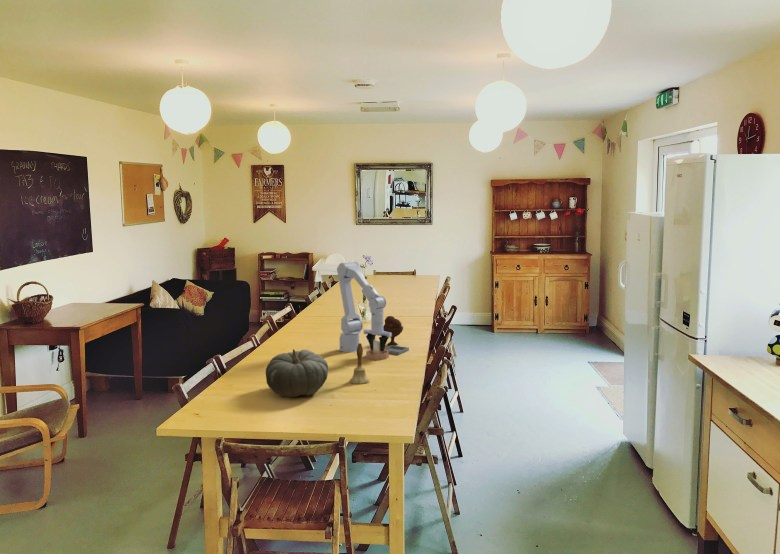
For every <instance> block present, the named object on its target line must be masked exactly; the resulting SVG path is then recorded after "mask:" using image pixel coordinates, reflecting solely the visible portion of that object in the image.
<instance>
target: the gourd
mask: <svg viewBox="0 0 780 554" xmlns="http://www.w3.org/2000/svg"><path fill="white" fill-rule="evenodd" d="M328 373H329V364H328V362H327V360H325V359H324V357H323V356H321V355H320V354H318V353H315V352H313V351H311V350H308V349H302V350H295V349H292V352H283V353H279V354H277V355H275V356H274V357H272V358H271V360H270V361H269V363H268V364H267V366H266V368H265V377H266V378H265V381H266V384H267V386H268V387H269V389H270V390H271V391H273V392H274V393H275V394H276V395H279V396H281V397H287V398H288V397H289V398H296V397H299V396H312V395H314V394H317V392H318V391H319V390H320V389H321V388H322V387H323V386H324V384H325V382H326V380H327V379H328Z"/></svg>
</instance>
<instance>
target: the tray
mask: <svg viewBox="0 0 780 554" xmlns="http://www.w3.org/2000/svg"><path fill="white" fill-rule="evenodd" d="M409 349H410V348H409V347H407V346H400V345H397V346H394V345H390V346H388V345H387V346H385V348H384V350H388V351H389V355H394V356H400V355H402V354H404V353H407V352H408V351H409V352H410V350H409Z"/></svg>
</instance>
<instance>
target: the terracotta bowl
mask: <svg viewBox="0 0 780 554" xmlns="http://www.w3.org/2000/svg"><path fill="white" fill-rule="evenodd" d="M389 355H390V354H389V351H388V350H384V351H382V354H373V350H371V349H368V350H366V351H365V358H366V359H368V360H372V361H381V360H387V359H389V357H390V356H389Z"/></svg>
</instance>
